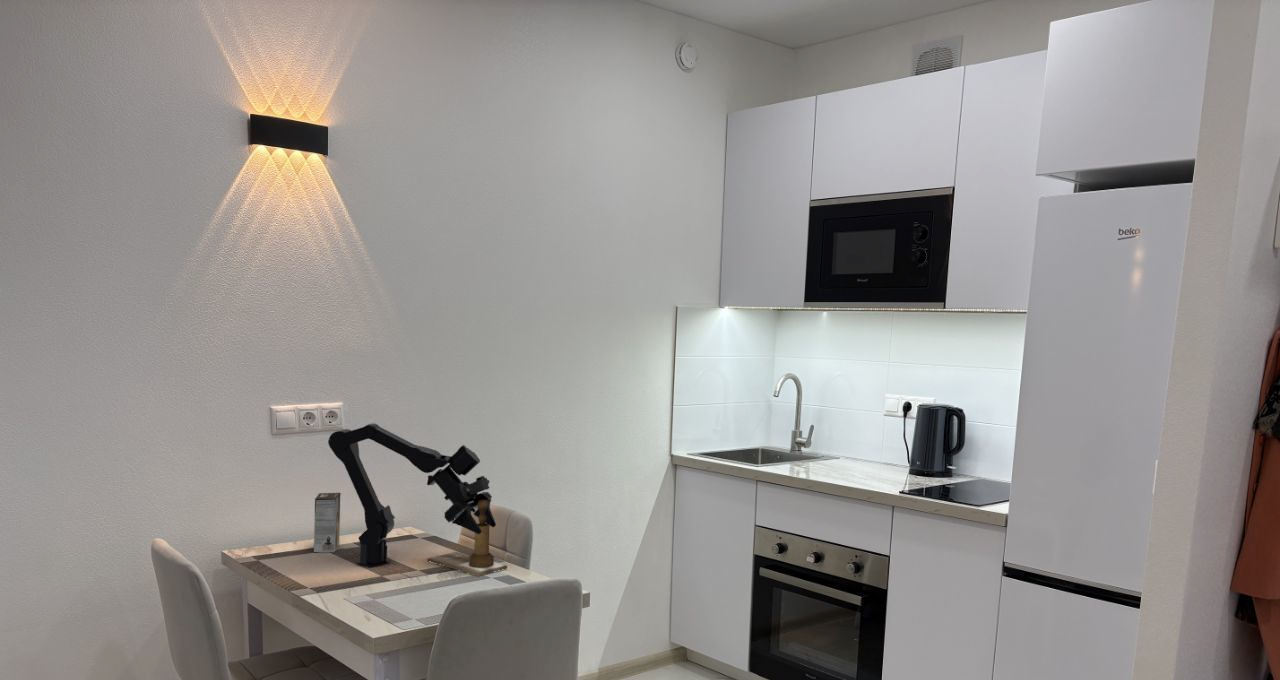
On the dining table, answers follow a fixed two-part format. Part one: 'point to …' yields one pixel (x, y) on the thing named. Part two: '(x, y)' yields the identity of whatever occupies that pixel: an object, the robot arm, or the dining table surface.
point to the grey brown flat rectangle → (464, 563)
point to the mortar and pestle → (482, 541)
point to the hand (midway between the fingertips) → (487, 529)
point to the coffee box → (327, 522)
